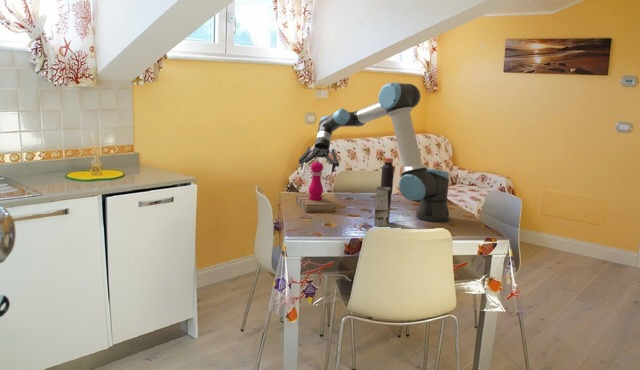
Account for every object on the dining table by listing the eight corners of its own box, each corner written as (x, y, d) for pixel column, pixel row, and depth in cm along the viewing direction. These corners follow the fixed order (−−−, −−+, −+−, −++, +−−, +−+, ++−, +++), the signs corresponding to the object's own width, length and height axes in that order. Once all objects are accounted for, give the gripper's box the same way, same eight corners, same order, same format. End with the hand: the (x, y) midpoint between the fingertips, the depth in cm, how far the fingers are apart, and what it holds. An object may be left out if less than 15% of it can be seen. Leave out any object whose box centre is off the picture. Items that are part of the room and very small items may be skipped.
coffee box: (388, 227, 227) (391, 190, 224) (373, 225, 228) (376, 189, 225) (389, 222, 236) (392, 186, 233) (375, 220, 237) (377, 185, 234)
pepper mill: (312, 201, 252) (314, 160, 248) (305, 198, 258) (307, 158, 254) (325, 200, 256) (327, 159, 252) (317, 197, 262) (319, 157, 258)
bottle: (394, 193, 303) (397, 158, 300) (385, 194, 299) (388, 159, 296) (386, 191, 309) (389, 157, 305) (377, 191, 305) (380, 157, 301)
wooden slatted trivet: (334, 211, 250) (334, 203, 249) (306, 212, 246) (306, 204, 245) (322, 202, 269) (322, 194, 268) (295, 203, 265) (295, 195, 264)
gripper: (347, 148, 270) (341, 181, 259) (300, 145, 274) (292, 178, 263) (346, 139, 264) (341, 172, 253) (298, 135, 268) (290, 169, 257)
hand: (316, 175), depth 258 cm, fingers open, 13 cm apart
